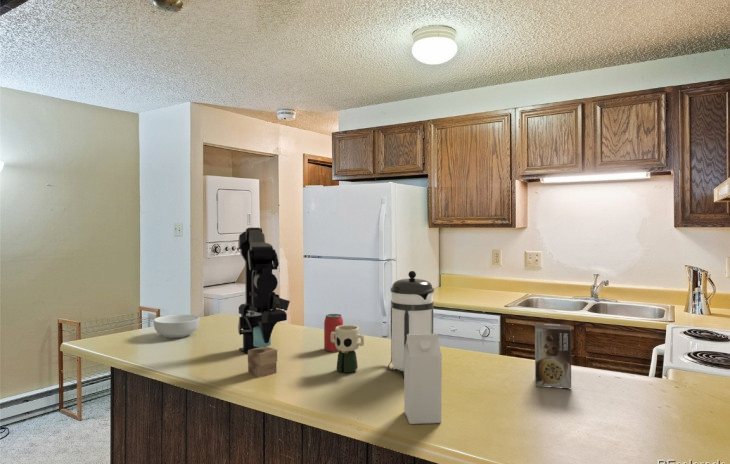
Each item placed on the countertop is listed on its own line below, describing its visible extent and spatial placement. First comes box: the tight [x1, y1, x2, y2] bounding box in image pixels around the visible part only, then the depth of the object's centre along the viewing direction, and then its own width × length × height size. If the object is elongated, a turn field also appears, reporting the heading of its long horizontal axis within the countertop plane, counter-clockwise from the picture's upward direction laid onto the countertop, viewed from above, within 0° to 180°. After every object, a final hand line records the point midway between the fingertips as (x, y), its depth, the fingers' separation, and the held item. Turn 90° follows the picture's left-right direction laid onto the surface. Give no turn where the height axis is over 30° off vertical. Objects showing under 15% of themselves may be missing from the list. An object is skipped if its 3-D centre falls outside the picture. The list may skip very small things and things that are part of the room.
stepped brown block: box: [247, 346, 278, 366], centre depth 136 cm, size 6×6×4 cm
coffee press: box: [387, 270, 435, 380], centre depth 138 cm, size 17×16×30 cm
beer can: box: [323, 313, 344, 353], centre depth 161 cm, size 7×7×12 cm
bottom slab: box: [247, 361, 278, 378], centre depth 137 cm, size 6×6×4 cm
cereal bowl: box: [153, 314, 201, 339], centre depth 181 cm, size 17×17×7 cm
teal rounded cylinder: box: [253, 326, 272, 347], centre depth 136 cm, size 5×5×5 cm
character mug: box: [331, 324, 365, 373], centre depth 138 cm, size 11×7×13 cm, turn 67°
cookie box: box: [534, 322, 572, 389], centre depth 127 cm, size 9×6×16 cm
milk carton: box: [403, 333, 443, 425], centre depth 105 cm, size 7×7×19 cm
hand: (262, 341), depth 136 cm, fingers closed on teal rounded cylinder, 5 cm apart
